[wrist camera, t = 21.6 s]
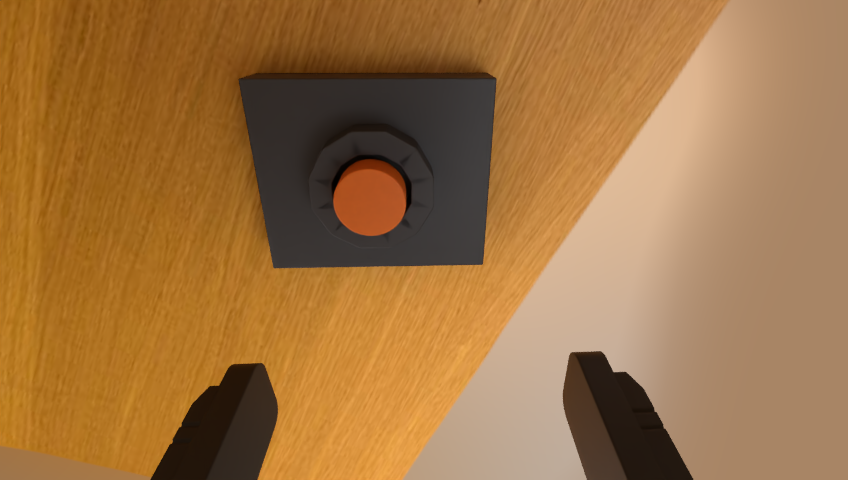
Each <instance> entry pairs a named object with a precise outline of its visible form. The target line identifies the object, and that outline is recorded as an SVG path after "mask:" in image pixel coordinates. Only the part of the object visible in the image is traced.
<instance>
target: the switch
mask: <svg viewBox="0 0 848 480" xmlns="http://www.w3.org/2000/svg"><path fill="white" fill-rule="evenodd" d="M333 204H334V209H335V212H336V214H337V217H338V218H339V220H340V221H341V222H342V223H343V224H344V225H345V226H346V227H347V228H348V229H350V230H351V231H353V232H355V233H358V234H361V235H366V236H377V235H381V234H384V233H387V232H389V231H391V230H392V229H394V228H395V227H396V226H397V225H398V224H399V223H400V221H401V220H402V218H403V216H404V213H405V210H406V186H405V182H404V180H403V178H402V176H401V174H400V173H399V172H398V171H397V170H396V169H395V168H394V167H393V166H392V165H390V164H389V163H386V162H384V161H381V160H377V159H364V160H360V161H357V162H355V163H353V164H352V165H350V166H349V167H348V168H347V169H346V170H345V171H344V172H343V174H342V176H341V178H340V180H339V182H338V184H337V187H336V189H335V192H334V197H333Z"/></svg>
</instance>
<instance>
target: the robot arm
mask: <svg viewBox="0 0 848 480" xmlns="http://www.w3.org/2000/svg"><path fill="white" fill-rule="evenodd" d="M563 404H564V410H565V414H566V418H567V421H568V424H569V427H570V430H571V433H572V436H573V439H574V442H575V445H576V448H577V451H578V454H579V457H580V460H581V463H582V466H583V469H584V472H585V475H586V478H587V480H693V478H692V476H691V474H690V473H689V471H688V469H687V467H686V465H685V464H684V462H683V460H682V458H681V456H680V454H679V453H678V451H677V449H676V447H675V445H674V443H673V442H672V440H671V438H670V436H669V434H668V432H667V431H666V429H664V427H663V423H662V421H661V420H660V418H659V416H658V414H657V412H655V411H654V407H653V405H652V403H651V402H650V400H649V398H648V396H647V394H646V392H645V390H644V389H643V388H642V387H641V386H640V385H639V384H638V383H637V382H636V381H635V380H634V379H633V378H632V377H631V376H630V375H629V374H627V373H626V372H613V371H612V368H611V366H610V365H609V363H608V360H607V358H606V357H605V355H604V354H603V353H602V352H601V351H596V352H572V353H571V354H570V355H569V360H568V366H567V372H566V377H565V383H564V389H563ZM277 414H278V405H277V400H276V397H275V394H274V391H273V388H272V385H271V382H270V380H269V377H268V374H267V371H266V368H265V366H264V365H263V364H262V363H254V364H233V365H231V366H230V367H229V368H228V370H227V371H226V373H225V375H224V377H223V379H222V381H221V383H220V385H219V386H210V387H209V388H208V389H207V390H206V391H205V392H204V393H203V394H202V395H201V396H200V397H199V398H198V399H197V400H196V401H195V402H194V403H193V404H192V405H191V407H190V409H189V411H188V413H187V415H186V416H185V418H184V420H183V422H182V426H181V427H179V429H178V431H177V433H176V434H175V436H174V438H173V443H172V444H170V445H169V447H168V449H167V451H166V453H165V454H164V456H163V458H162V460H161V462H160V463H159V465H158V467H157V469H156V471H155V472H154V474H153V476H152V478H151V480H257V479H258V476H259V473H260V470H261V467H262V464H263V461H264V458H265V455H266V452H267V449H268V446H269V443H270V440H271V437H272V434H273V431H274V428H275V425H276V421H277Z"/></svg>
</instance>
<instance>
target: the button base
mask: <svg viewBox="0 0 848 480" xmlns="http://www.w3.org/2000/svg"><path fill="white" fill-rule="evenodd" d="M239 85H240V90H241V96H242V101H243V106H244V112H245V117H246V122H247V128H248V133H249V139H250V144H251V149H252V155H253V160H254V165H255V171H256V176H257V181H258V187H259V192H260V198H261V203H262V208H263V214H264V219H265V224H266V230H267V235H268V240H269V246H270V251H271V257H272V262H273V267H274V268H314V267H373V266H431V265H482V264H483V257H484V243H485V230H486V216H487V202H488V189H489V175H490V161H491V148H492V134H493V120H494V107H495V93H496V78H495V77H493V76H492V75H490V74H488V73H256V74H253V75H250V76H246V77H243V78H240V79H239ZM364 159H377V160H381V161H384V162H386V163H389V164H390V165H392V166H393V167H394V168H395V169H396V170H397V171H398V172H399V173H400V174H401V176H402V178H403V180H404V182H405V186H406V210H405V213H404V216H403V218H402V220H401V221H400V223H399V224H398V225H397V226H396V227H395V228H394V229H392V230H391V231H389V232H387V233H384V234H381V235H377V236H366V235H361V234H358V233H355V232H353V231H351V230H350V229H348V228H347V227H346V226H345V225H344V224H343V223H342V222H341V221H340V220H339V218H338V217H337V214H336V212H335V209H334V204H333V197H334V192H335V189H336V187H337V184H338V182H339V180H340V178H341V176H342V174H343V172H344V171H345V170H346V169H347V168H348V167H349V166H350V165H352V164H353V163H355V162H357V161H360V160H364Z"/></svg>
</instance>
